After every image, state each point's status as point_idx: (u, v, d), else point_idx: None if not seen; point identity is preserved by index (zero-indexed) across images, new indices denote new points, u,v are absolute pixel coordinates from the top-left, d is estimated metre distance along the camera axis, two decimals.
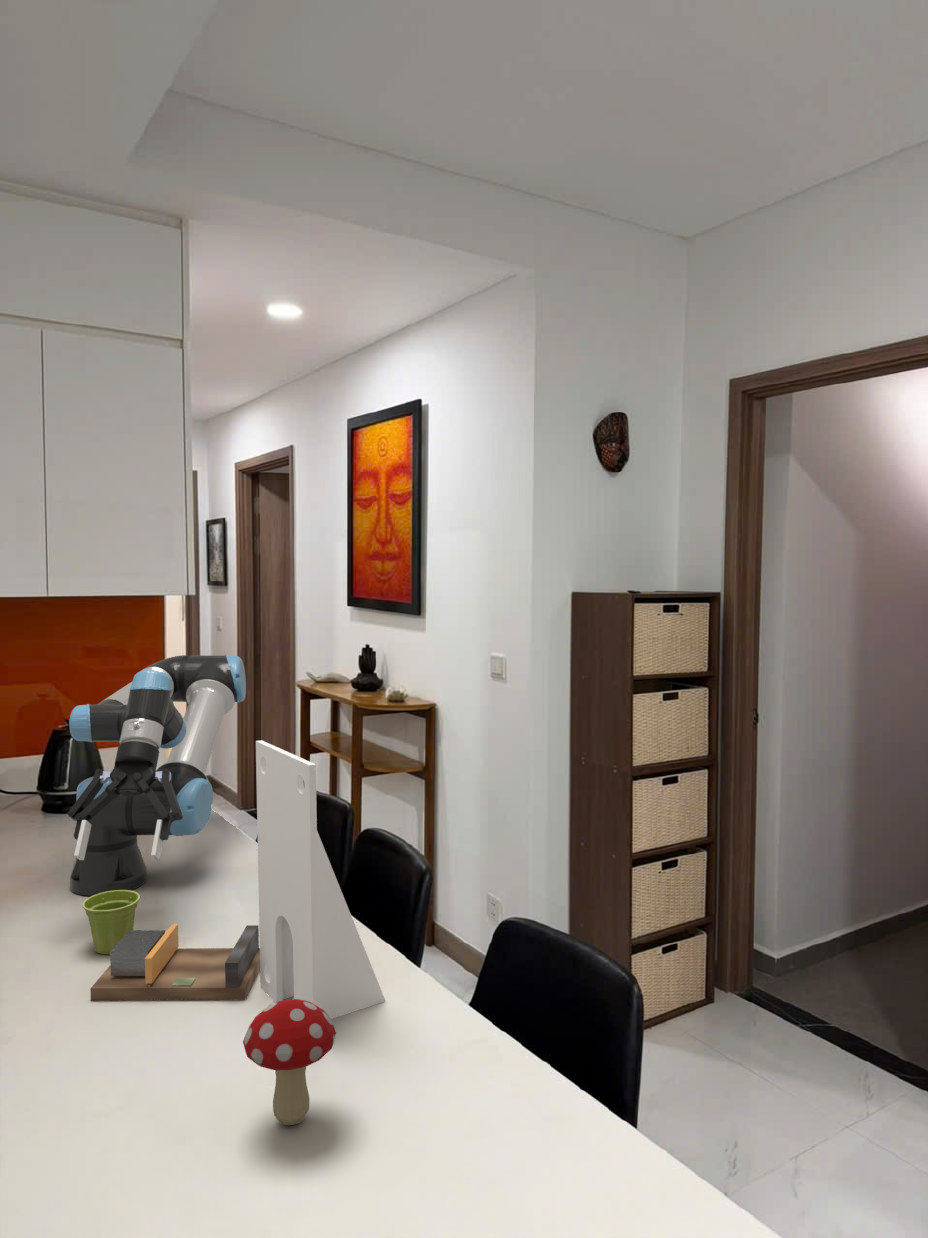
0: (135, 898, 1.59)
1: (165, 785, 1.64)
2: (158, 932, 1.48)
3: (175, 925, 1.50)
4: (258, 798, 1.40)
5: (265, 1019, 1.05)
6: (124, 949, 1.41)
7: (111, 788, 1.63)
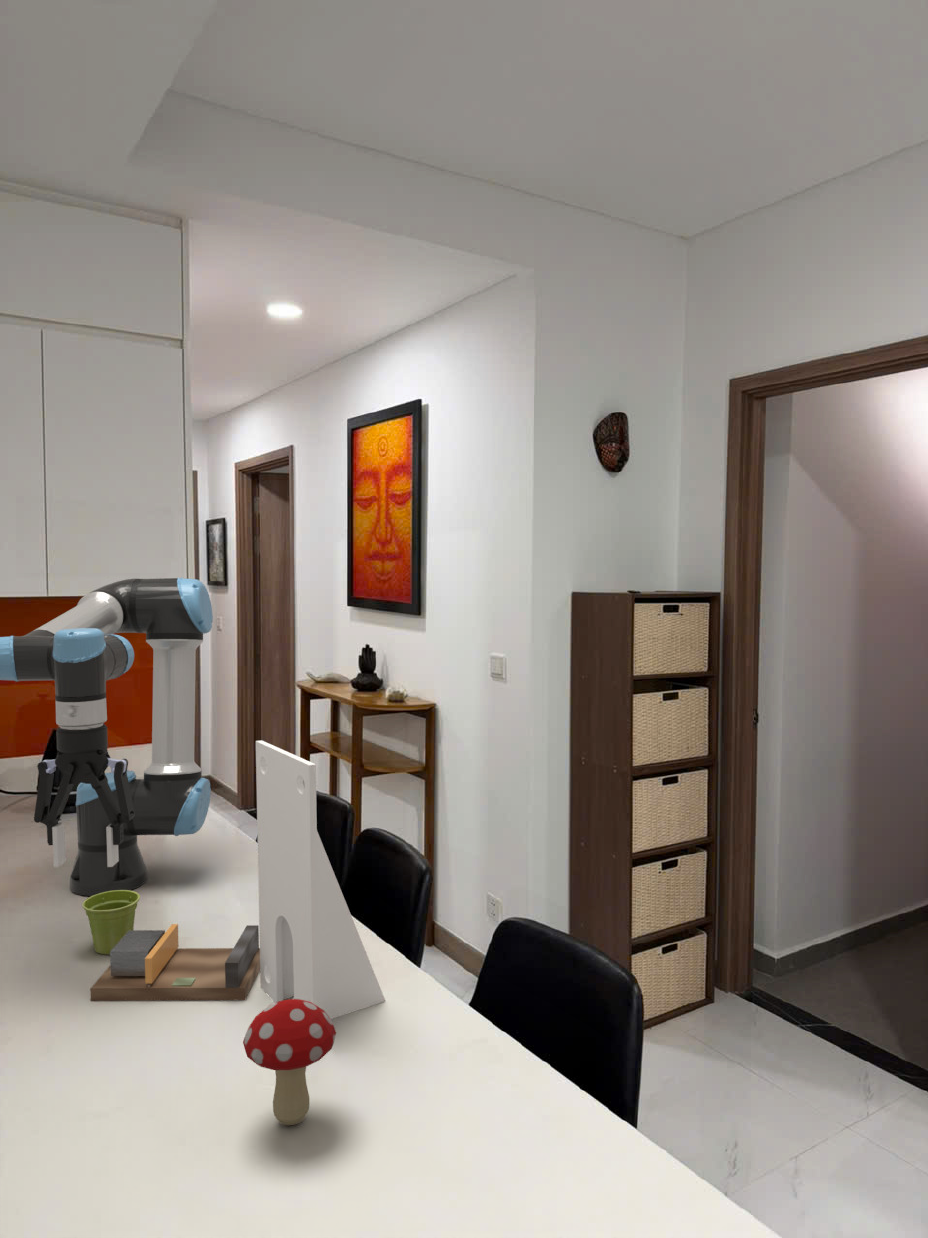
0: (135, 898, 1.59)
1: (117, 782, 1.42)
2: (158, 932, 1.48)
3: (175, 925, 1.50)
4: (258, 798, 1.40)
5: (265, 1019, 1.05)
6: (124, 949, 1.41)
7: (66, 785, 1.41)
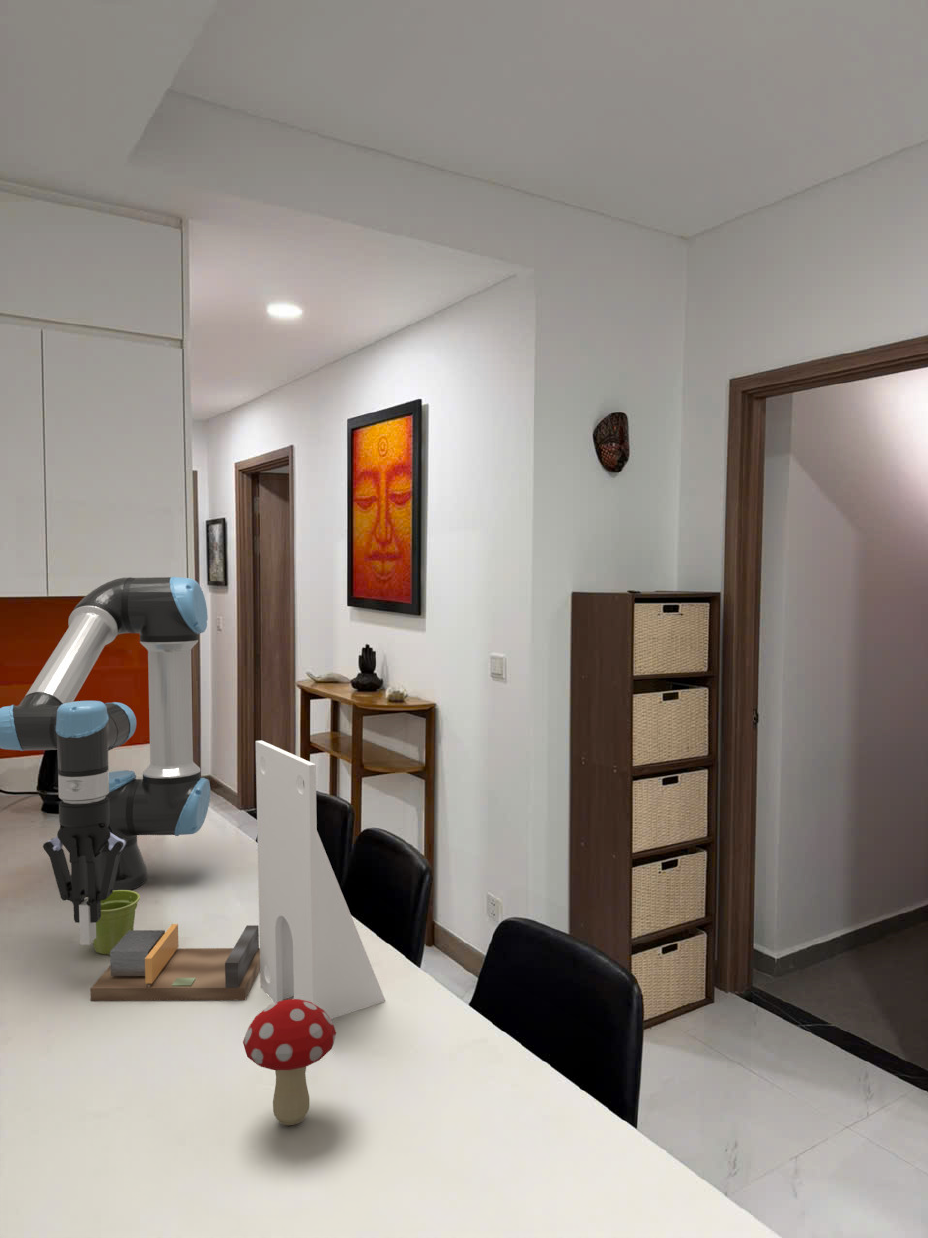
0: (135, 898, 1.59)
1: (109, 860, 1.42)
2: (158, 932, 1.48)
3: (175, 925, 1.50)
4: (258, 798, 1.39)
5: (265, 1019, 1.05)
6: (124, 949, 1.41)
7: (76, 858, 1.42)
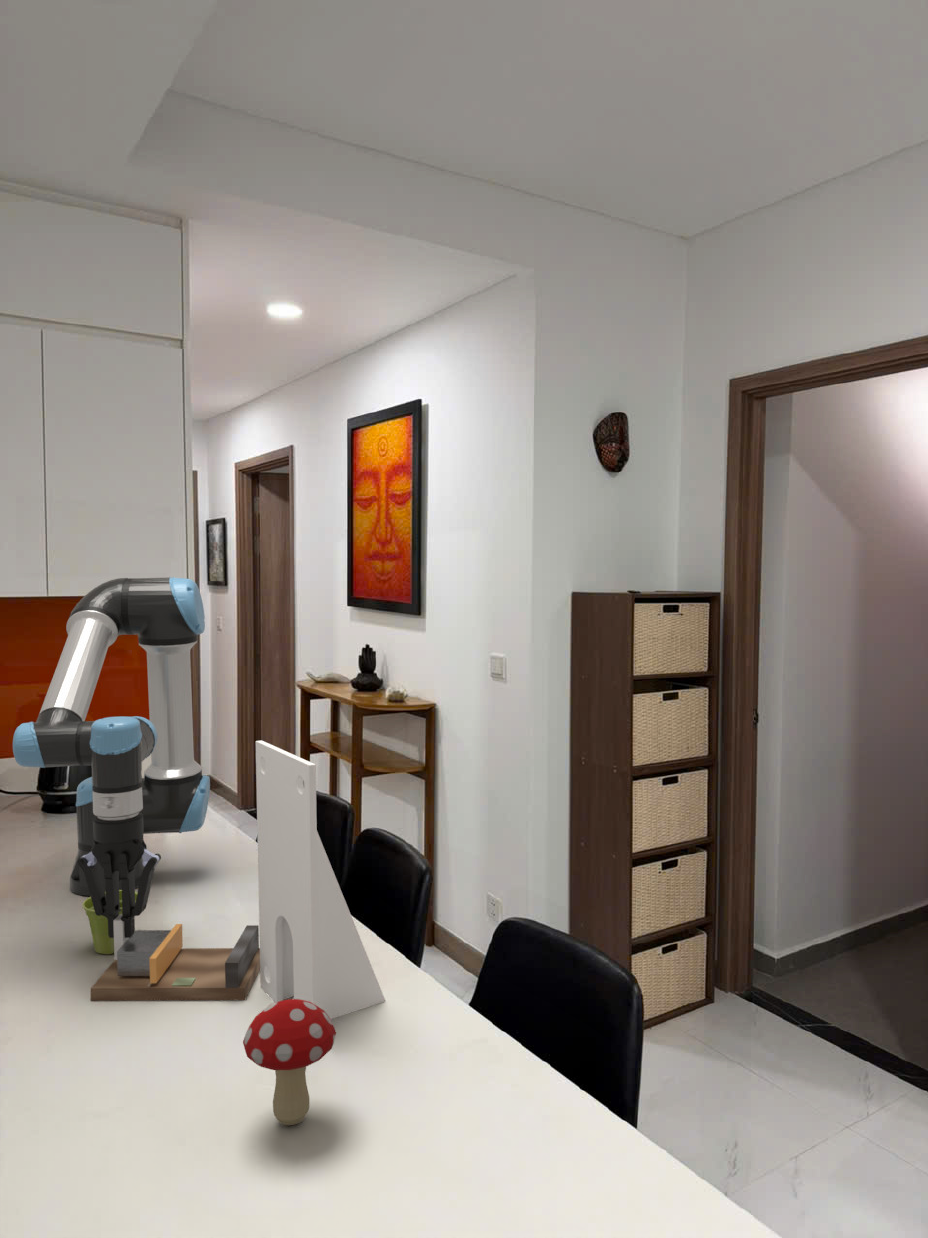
0: (135, 898, 1.59)
1: (143, 876, 1.42)
2: (165, 932, 1.48)
3: (179, 925, 1.50)
4: (258, 798, 1.39)
5: (265, 1019, 1.05)
6: (131, 949, 1.41)
7: (110, 874, 1.42)
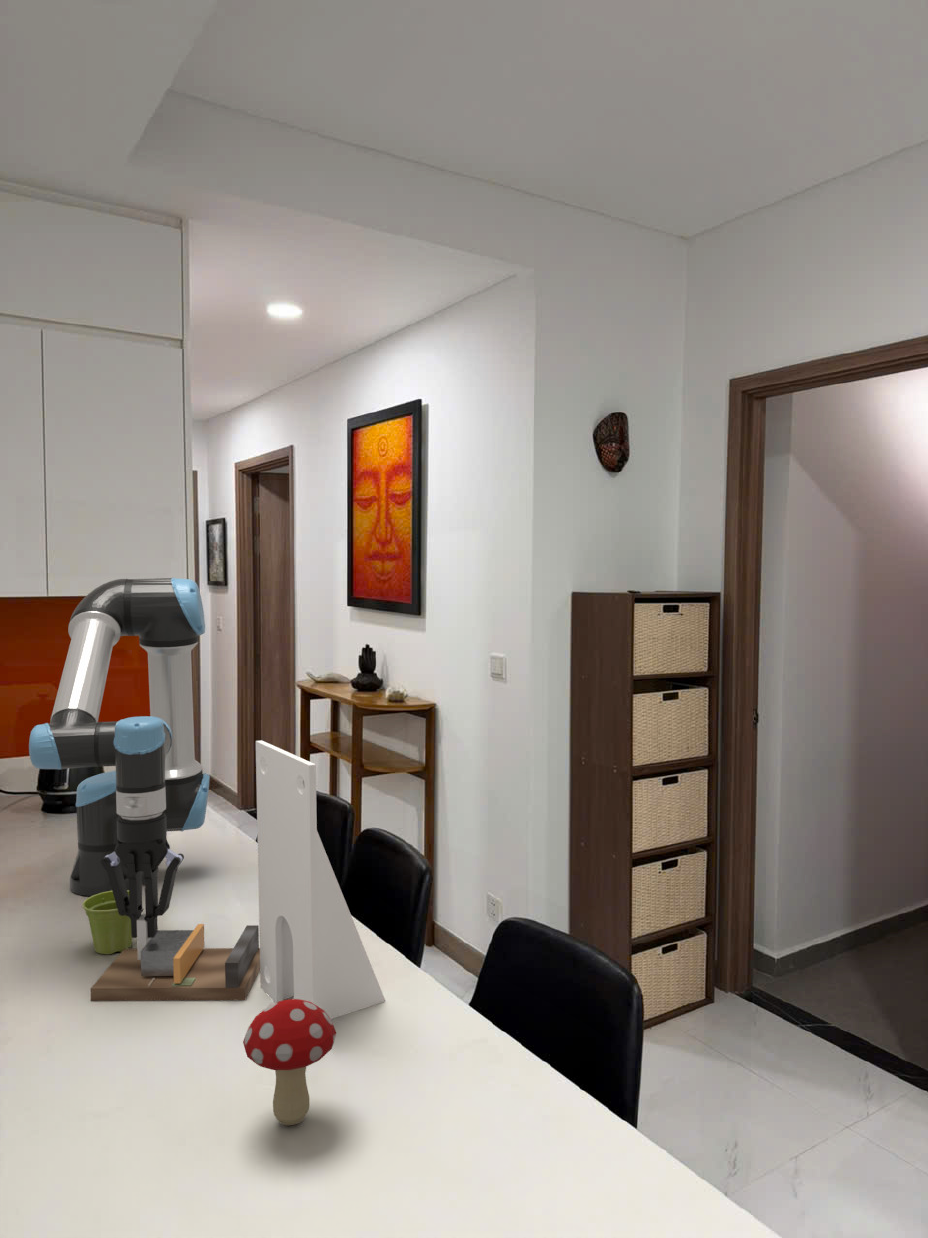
0: None
1: (167, 876, 1.42)
2: (187, 931, 1.48)
3: (201, 925, 1.50)
4: (258, 798, 1.39)
5: (265, 1019, 1.05)
6: (154, 949, 1.41)
7: (133, 874, 1.42)
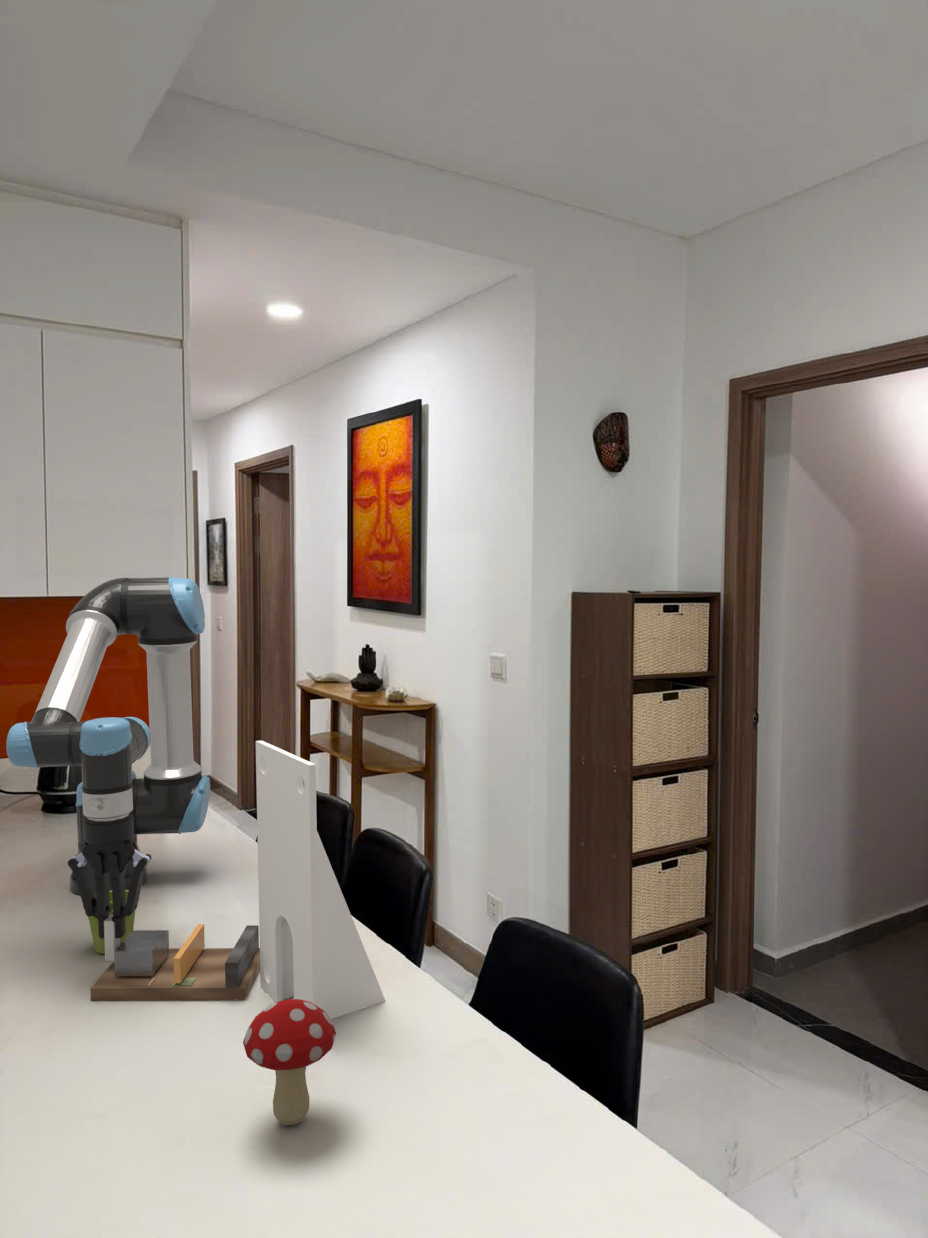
0: None
1: (134, 877, 1.43)
2: (162, 932, 1.48)
3: (201, 925, 1.50)
4: (258, 798, 1.39)
5: (265, 1019, 1.05)
6: (128, 949, 1.41)
7: (100, 875, 1.42)
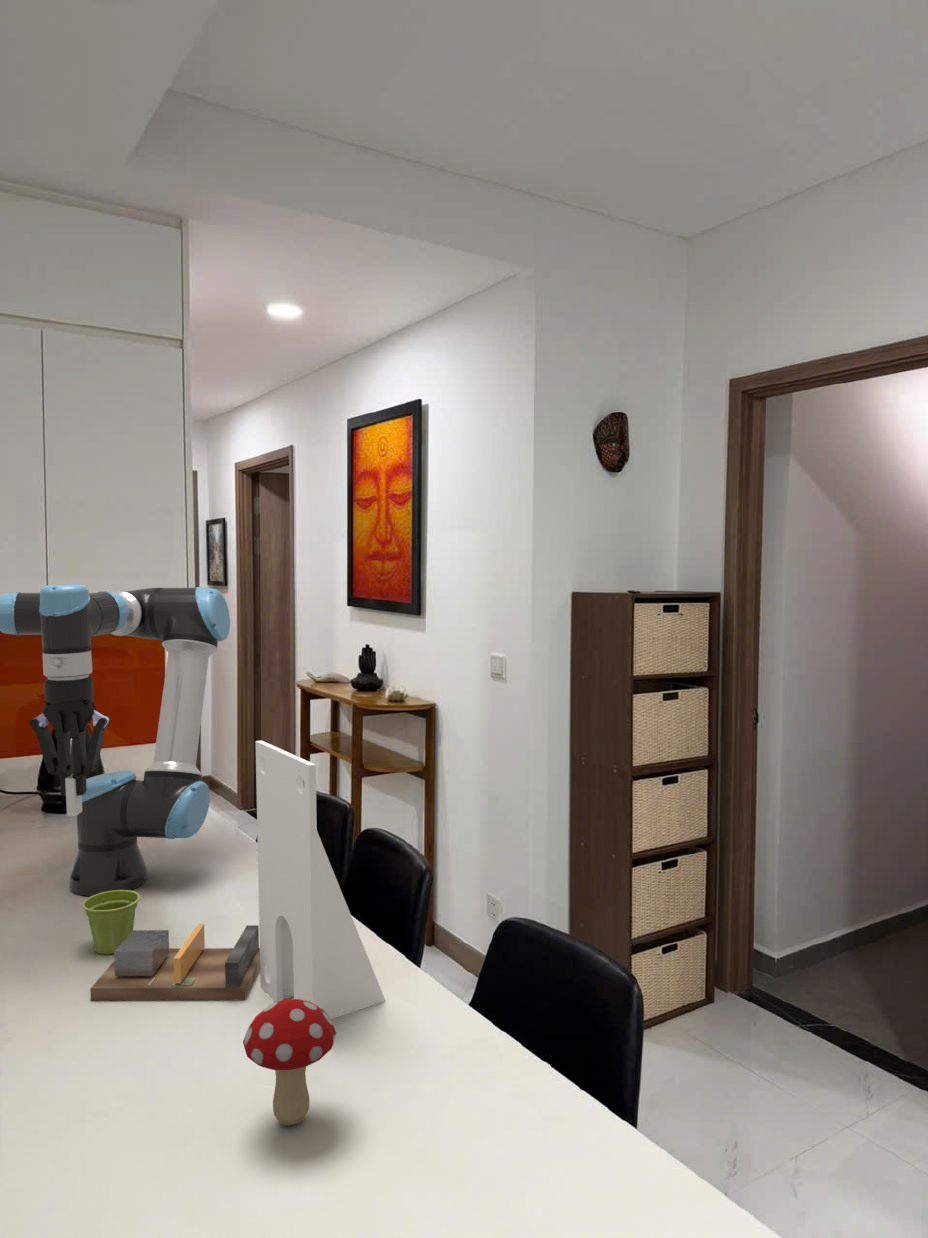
0: (135, 898, 1.59)
1: (94, 736, 1.49)
2: (162, 932, 1.48)
3: (201, 925, 1.50)
4: (258, 798, 1.39)
5: (265, 1019, 1.05)
6: (128, 949, 1.41)
7: (61, 733, 1.48)
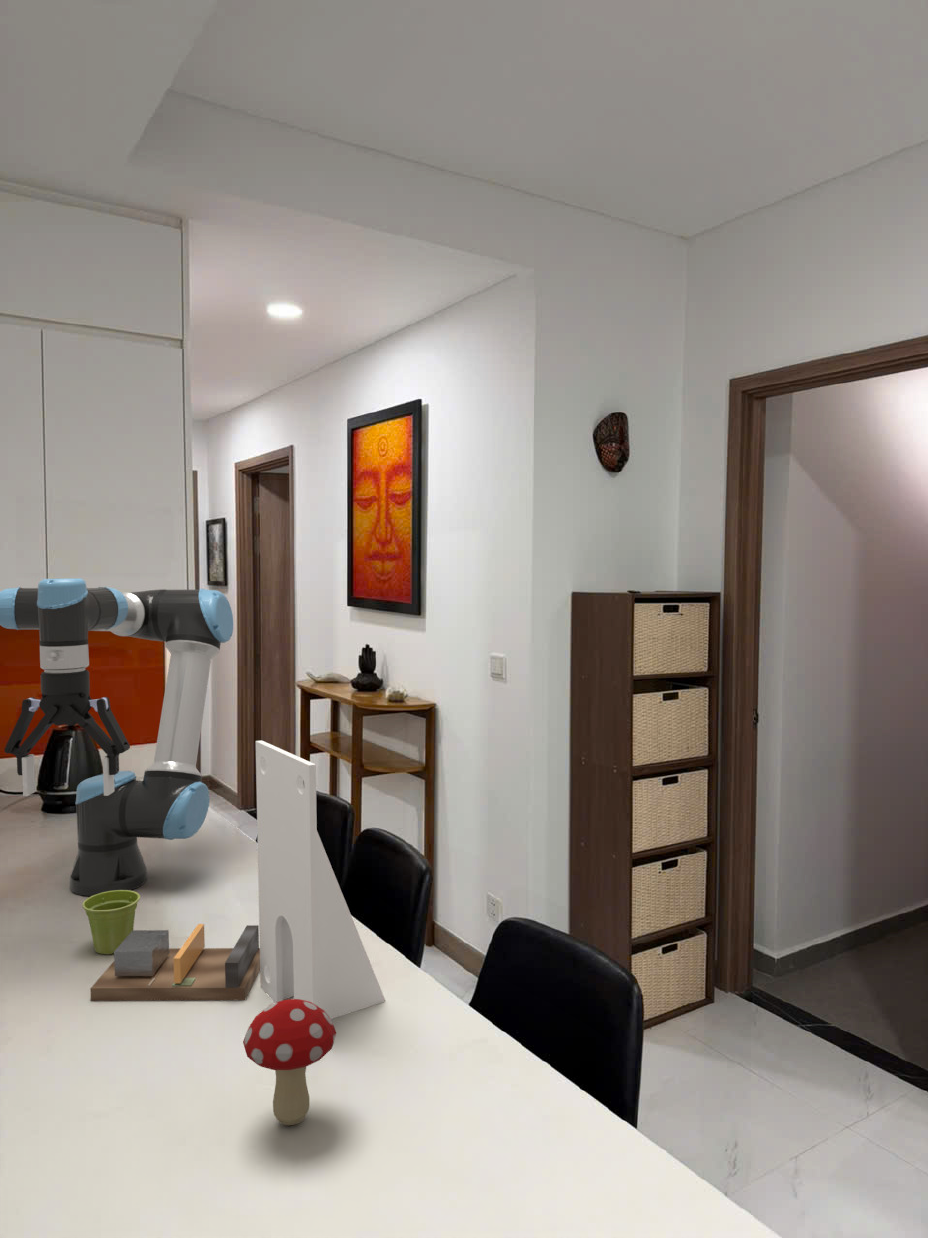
0: (135, 898, 1.59)
1: (103, 718, 1.49)
2: (162, 932, 1.48)
3: (201, 925, 1.50)
4: (258, 798, 1.39)
5: (265, 1019, 1.05)
6: (128, 949, 1.41)
7: (45, 724, 1.48)
